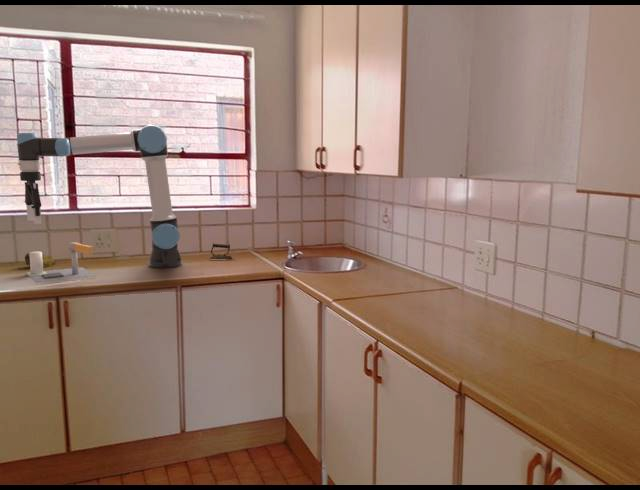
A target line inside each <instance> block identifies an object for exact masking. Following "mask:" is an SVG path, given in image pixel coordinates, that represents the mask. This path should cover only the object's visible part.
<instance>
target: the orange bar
mask: <svg viewBox="0 0 640 490" xmlns="http://www.w3.org/2000/svg"><path fill="white" fill-rule="evenodd" d="M68 251H70V252H71V251H77V253H81V254H86V255H93V254H94V246H93V245H87V244H83V243H79V242H77V241H72V242H68Z"/></svg>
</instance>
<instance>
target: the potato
mask: <svg viewBox="0 0 640 490" xmlns="http://www.w3.org/2000/svg"><path fill="white" fill-rule="evenodd" d="M29 253H30V252H28V253H26V254H25V255H24V260H25V264H26V265H27V266H30V255H29ZM42 259H43V268H47V267H48V268H49V267H53V266H55V264H56V260H55V259H56V258H54V257H53V256H49V255H45V254H43V253H42Z"/></svg>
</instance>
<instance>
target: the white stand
mask: <svg viewBox="0 0 640 490" xmlns="http://www.w3.org/2000/svg"><path fill="white" fill-rule="evenodd" d="M70 252H71V253H70V256H71V268H62V269H53V270H44V271H45V272H46V273H47V274H42V276H32V277H29V278H30V279H32V280H33V282H35V283H41V284H39V285H42V283H46V282H47V283H48V282H49V283H50V282H52V281H53V282H54V281H58V282H56V283H57V284H58V283H59V281H61V280H62V281H63V280H72V279H79V278H83V279H81V280H84V278H88V277H89V279H90V280H91V279H92V278H90V277H95V276H96V275H95V274H94V273H92V272H90V271H89V270H88V269H85V268H84V267H82V266H81V267H80V266H79V261H78V252H77V251H70ZM27 273H28V272H26V273H25V274H26V275H27ZM73 281H76V280H72V282H73ZM64 282H67V281H64ZM49 283H48V284H49Z"/></svg>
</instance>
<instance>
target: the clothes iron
mask: <svg viewBox="0 0 640 490" xmlns="http://www.w3.org/2000/svg"><path fill="white" fill-rule="evenodd" d="M214 248H223V249H228V250H227V253H224V254H214V253H213V251H214ZM230 250H231V244H220V243H212V248H211V250H210V254H211V256H210V258H209V259H232V260H233V257H232V256H231V255H229V253H230ZM227 254H228V255H227Z"/></svg>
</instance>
